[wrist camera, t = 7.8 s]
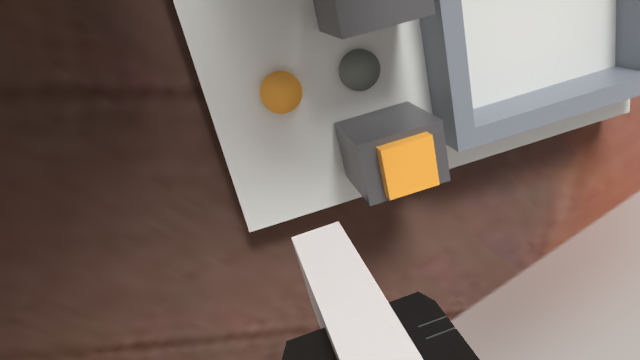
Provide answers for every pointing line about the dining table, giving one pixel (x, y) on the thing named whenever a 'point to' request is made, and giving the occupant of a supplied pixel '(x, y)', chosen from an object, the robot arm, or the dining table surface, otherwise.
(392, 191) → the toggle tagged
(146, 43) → the dining table surface
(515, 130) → the frame
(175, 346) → the dining table surface
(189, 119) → the dining table surface
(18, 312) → the dining table surface
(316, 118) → the panel
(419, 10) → the toggle
